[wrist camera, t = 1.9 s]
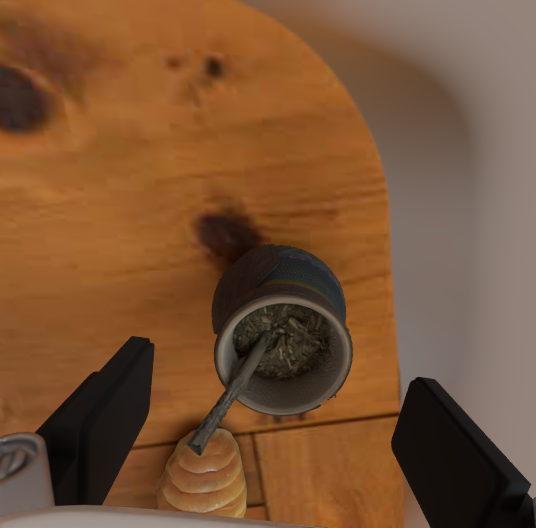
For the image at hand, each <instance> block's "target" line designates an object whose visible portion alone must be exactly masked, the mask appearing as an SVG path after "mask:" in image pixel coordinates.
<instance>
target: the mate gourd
mask: <svg viewBox="0 0 536 528" xmlns="http://www.w3.org/2000/svg"><path fill="white" fill-rule="evenodd" d="M345 321H346V306H345V298H344V294H343V290H342V288H341V285H340V283H339V281H338V279H337V278H336V276H335V275H334V274H333V272H332V271H331V270H330V268H329V267H328V266H327V265H326V264H325V263H324V262H323V261H321V260H320V259H318V258H317V257H316V256H314V255H313V254H311V253H308V252H306V251H304V250H302V249H298V248H295V247H290V246H282V245H280V246H274V244H273V245H269V244H267V245H265V244H264V245H263V246H258V247H255V248H253V249H251V250H249V251H248V252H246V253H245V254H244V255H243V256H242V257H241V258H239V259H238V260H237V261H236V262H235V263H234V264H233V265H232V266H231V267H229V268H228V269H227V270H226V272H225V273H224V274H223V276H222V277H221V279H220V281H219V283H218V285H217V288H216V291H215V293H214V298H213V303H212V324H213V325H212V326H213V331H214V333H215V334H217V335H218V336H217V339H216V342H215V348H214V363H215V368H216V371H217V374H218V376H219V379H220V381H221V383H222V384H223V385H224V387H225V388H226V390H225V392H224V393H223V394H222V396H221V397H220V398H219V400H218V401H217V403H216V405H215V406H214V407H213V409H212V410H211V411H210V413H209V414H208V415H207V417H206V418H205V420H204V421H203V422H202V424H201V425H200V426H199V427H198V429H197V430H196V431H195V433H194V434H193V435H192V437H191V438H190V440H189V441H188V442H187V444H186V445H187V446H188V447H189V448H190V449H191V450H192V451H193V452H194V453H196V454H197V455H198V456H200V457H201V455H202V453H203V451H204V449H205V447H206V446H207V443H208V440H209V439H210V437H211V436H212V435H213V434H214V433H215V431H216V429H217V428H218V426H219V425H220V424H221V421H222V419H223V417H225V415H226V413H227V410H228V409H229V407H230V406H231V405H232V403H233V402H234V401H235V400H237V401H239V402H240V403H241V404H243V405H245V406H246V407H248V408H250V409H252V410H254V411H256V412H259V413H263V414H267V415H271V416H292V415H297V414H301V413H305V412H308V411H311V410H313V409H316V408H318V407H320V406H321V405H320V404H321V403H323V402H324V401H326V400H329V399H328V398H332V397H333V396H334V395H335V394H336V393H337V392H338V391H339V390H340V389H341V387H342V386H343V384H344V382H345V380H346V378H347V376H348V374H349V371H350V368H351V364H352V357H353V347H352V341H351V336H350V334H349V329H348V328H347V327H346V324H345ZM335 398H336V395H335Z"/></svg>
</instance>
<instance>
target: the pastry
mask: <svg viewBox="0 0 536 528" xmlns="http://www.w3.org/2000/svg"><path fill="white" fill-rule="evenodd" d="M196 430H197V429H196ZM196 430H193V431H191V432H190V433H189V434H188V435H187V436H185V437H184V438H182V439H181V440H180V441H179V442H178V445H177V447H176V449H175V451H174V453H173V454H172V455H171V456H170V457H169V459H168V461H167V464H166V467H165V471H164V472H163V474H162V476H161V477H160V478H159V480H158V483H157V491H156V492H157V502H158V503H157V506H156V509H155V510H167V511H178V512H188V513H197V514H207V515H216V516H226V517H235V518H243V517H244V514H245V512H246V496H247V487H246V481H245V476H244V471H243V466H242V462H241V456H240V451H239V447H238V444H237V442H236V441H235V439H234V438H233V436H232V434H231V433H230V432H229V431H227V430H225V429H216V431H215V433H214V434H213V435H212V436H211V437H210V439H209V440H208V443H207V446H206V447H205V449H204V451H203V453H202V455H201V457H200V456H198V455H197V454H196V453H194V452H193V451H192V450H191V449H190V448H189V447H188V446H187V445H186V444H187V442H188V441H189V440H190V438H191V437H192V435H193V434H194V433H195V431H196Z"/></svg>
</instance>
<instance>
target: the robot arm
mask: <svg viewBox="0 0 536 528" xmlns="http://www.w3.org/2000/svg"><path fill="white" fill-rule="evenodd" d="M153 359H154V343H150V339H149V338H142V337H135V336H132V337H130V338H129V340H128V341H127V342H126V343H125V344H124V345H123V346H122V347H121V348H120V349H119V350H118V352H117V353H116V354H115V355H114V356H113V357H112V358H111V359H110V360H109V361H108V362H107V363H106V365H105V366H104V367H103V368H102V369H101V370H100V371H99V372H93V373H92V374H90V375H89V376H88V377H87V378H86V379H85V380H84V381H83V383H82V384H81V385H80V386H79V387H78V388H77V389H76V390H75V391H74V392H73V393H72V394H71V395H70V396H69V397H68V398H67V399H66V400H65V401H64V402H63V404H62V405H61V406H60V407H59V408H58V409H57V410H56V411H55V412H54V413H53V414H52V415H51V416H50V417H49V418H48V419H47V420H46V421H45V422H44V423H43V425H42V426H41V427H40V428H39V429H38V430H37V431H36V432H35V433H31V432H17V433H12V434H8V435H4V436H2V437H0V528H327V527H318V526H309V525H300V524H291V523H282V522H273V521H264V520H254V519H245V518H235V517H226V516H216V515H207V514H197V513H188V512H178V511H167V510H155V509H143V508H132V507H120V506H102V504H103V502H104V500H105V498H106V496H107V494H108V492H109V490H110V488H111V487H112V485H113V483H114V481H115V479H116V477H117V475H118V473H119V471H120V469H121V467H122V465H123V463H124V461H125V460H126V458H127V456H128V454H129V452H130V450H131V448H132V446H133V444H134V442H135V440H136V438H137V436H138V434H139V432H140V431H141V429H142V427H143V425H144V423H145V421H146V419H147V416H148V413H149V407H150V395H151V383H152V371H153ZM391 446H392V451H393V453H394V455H395V457H396V459H397V461H398V463H399V465H400V467H401V469H402V471H403V473H404V475H405V477H406V479H407V481H408V483H409V485H410V487H411V489H412V491H413V493H414V495H415V497H416V499H417V501H418V503H419V505H420V507H421V509H422V511H423V513H424V515H425V517H426V519H427V521H428V523H429V525H430V527H431V528H536V497H535V498H534V499H532V498H531V497H530V496H529V495H528V493H527V492H528V490H529V488H530V486H531V484H530V483H529V481H528V480H527V479H526V478H525V477H524V476H523V475H522V474H521V473H520V472H519V471H518V469H517V468H515V466H514V465H513V464H512V463H511V462H510V461H509V460H508V459H507V457H506V456H505V455H504V454H503V453H502V452H501V451H500V450H499V449H498V448H497V447H496V446H495V444H494V443H493V442H492V441H491V440H490V439H489V438H488V437H487V436H486V435H485V433H484V432H483V431H482V430H481V429H480V428H479V427H478V426H477V425H476V424H475V423H474V421H473V420H472V419H471V418H470V417H469V416H468V415H467V414H466V413H465V411H463V409H462V408H461V407H460V406H459V405H458V404H457V403H456V402H455V401H454V399H453V398H452V397H451V396H450V395H449V394H448V393H447V392H446V391H445V390H444V389H443V388H442V386H441V385H440V384H439V383H438V382H437V381H436V380H435V379H430V378H422V377H417V378H416V379H415V380H413V381H411V382H410V385H409V387H408V391H407V394H406V397H405V400H404V403H403V406H402V409H401V412H400V415H399V418H398V421H397V425H396V428H395V431H394V434H393V437H392V441H391Z"/></svg>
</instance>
